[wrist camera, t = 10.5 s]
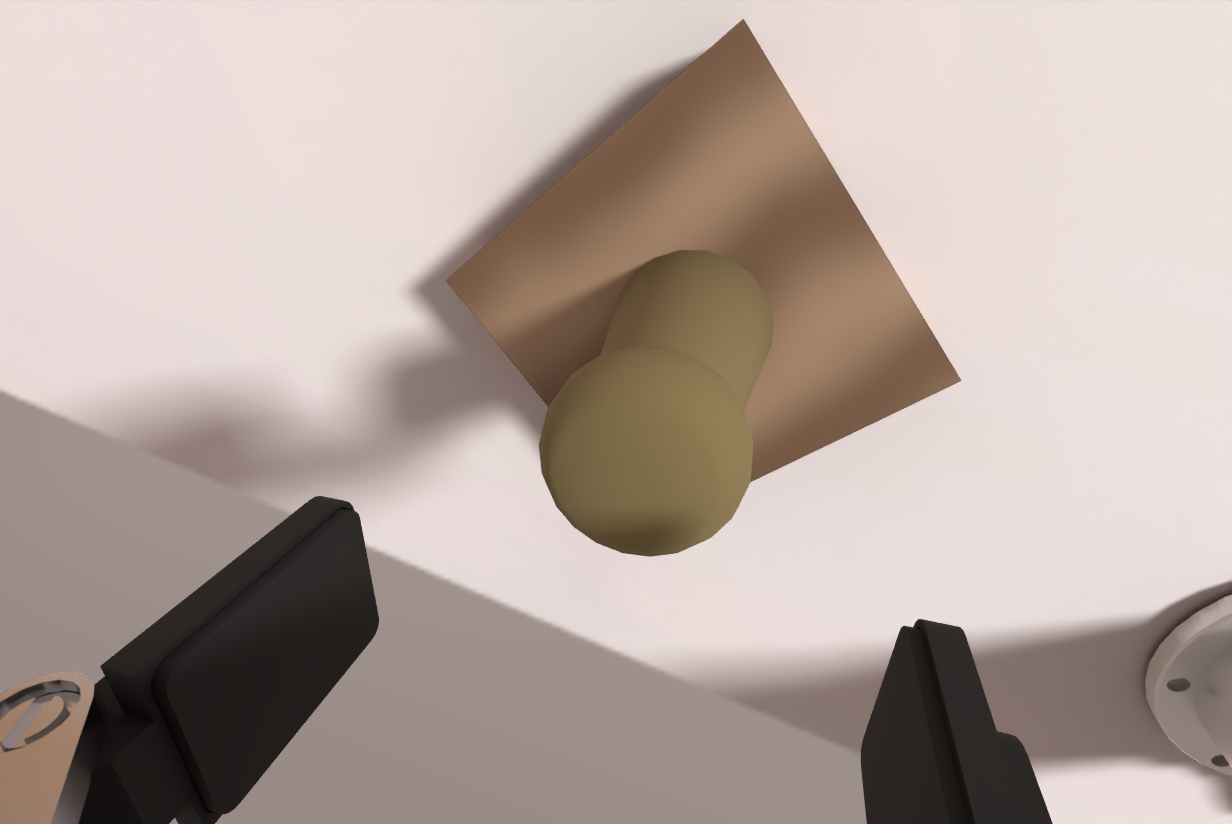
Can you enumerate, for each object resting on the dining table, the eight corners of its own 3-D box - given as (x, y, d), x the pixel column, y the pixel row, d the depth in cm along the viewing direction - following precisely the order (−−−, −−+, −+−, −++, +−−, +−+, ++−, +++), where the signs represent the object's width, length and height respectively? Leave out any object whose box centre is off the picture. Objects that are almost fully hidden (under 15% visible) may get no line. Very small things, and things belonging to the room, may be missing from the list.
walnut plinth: (936, 342, 25) (961, 380, 21) (663, 483, 31) (649, 530, 28) (749, 32, 22) (743, 18, 18) (487, 258, 28) (445, 280, 24)
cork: (779, 396, 23) (781, 599, 14) (628, 406, 25) (536, 593, 15) (766, 237, 21) (758, 350, 11) (600, 261, 23) (470, 377, 13)
